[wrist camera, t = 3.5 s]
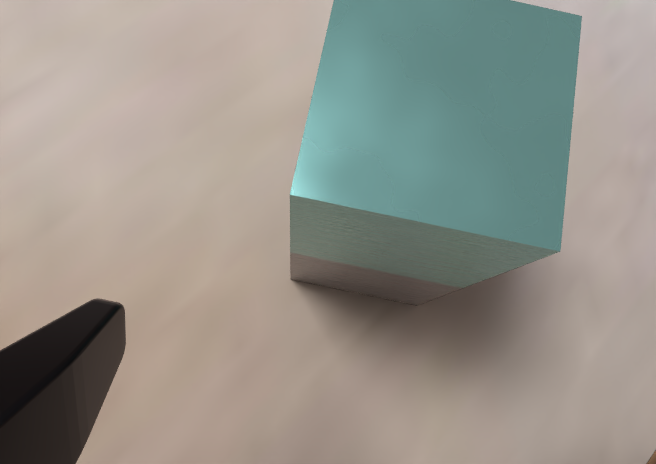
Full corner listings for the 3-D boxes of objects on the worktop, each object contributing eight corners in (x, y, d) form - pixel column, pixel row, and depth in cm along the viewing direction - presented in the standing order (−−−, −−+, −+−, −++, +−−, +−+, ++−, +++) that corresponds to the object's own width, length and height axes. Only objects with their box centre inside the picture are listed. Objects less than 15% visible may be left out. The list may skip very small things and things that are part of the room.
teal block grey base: (416, 305, 20) (560, 251, 9) (290, 279, 20) (289, 194, 9) (435, 185, 21) (581, 16, 11) (316, 160, 21) (342, -37, 10)
